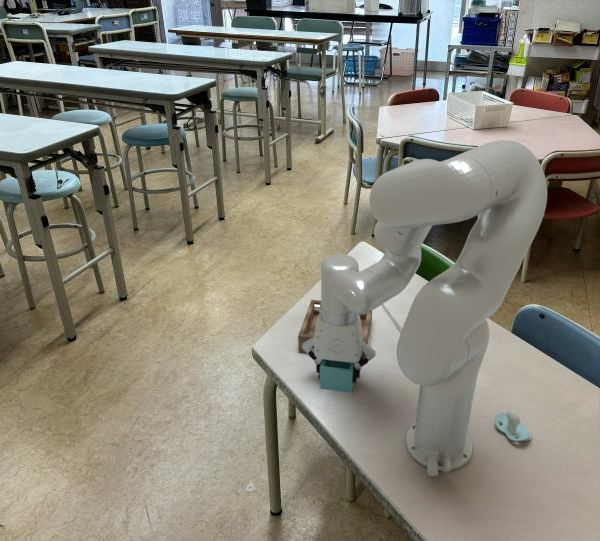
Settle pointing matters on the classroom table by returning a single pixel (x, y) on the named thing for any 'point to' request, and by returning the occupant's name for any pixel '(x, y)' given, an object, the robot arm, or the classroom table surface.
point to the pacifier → (513, 426)
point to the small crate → (336, 375)
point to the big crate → (310, 325)
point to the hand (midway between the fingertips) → (338, 376)
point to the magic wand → (392, 318)
